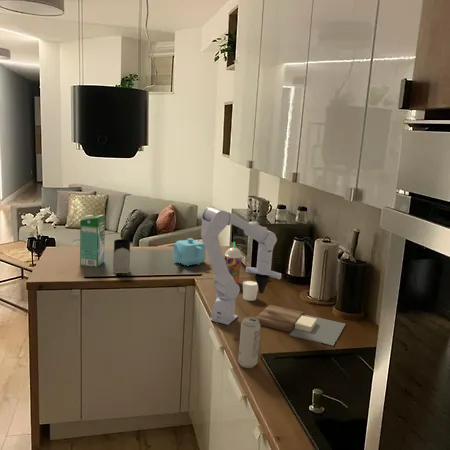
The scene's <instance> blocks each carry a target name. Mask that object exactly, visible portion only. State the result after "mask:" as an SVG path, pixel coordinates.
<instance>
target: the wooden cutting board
mask: <svg viewBox="0 0 450 450" xmlns="http://www.w3.org/2000/svg"><path fill="white" fill-rule="evenodd" d="M301 316H304V311H301V310H296V309H292V308H288V307H282V306H279V305H275V304H268V306H266V307H265V308H264V309H263V310H262V311H261V312H259V314H258V315H257V316H255V317H256V318H258V319H259V323H260V325H261V326H265V327H268V328H272V329H276V330H280V331H284V332H289V333H291V332H292V331H293V330H294V328H295V323H296V322H297V321H298V319H299V318H300V317H301Z"/></svg>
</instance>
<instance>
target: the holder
mask: <svg viewBox="0 0 450 450" xmlns="http://www.w3.org/2000/svg"><path fill="white" fill-rule="evenodd" d="M112 255H113V259H112V262H113V263H112V264H113V265H112V267H113V268H112V271H113V272H117V273H127V274H129V273H128V272H130V271H131V240H129V239H122V238H121V239H120V238H119V239H115V240H113V254H112ZM112 271H111V272H112ZM113 272H112V273H113Z"/></svg>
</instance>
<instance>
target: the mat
mask: <svg viewBox="0 0 450 450" xmlns="http://www.w3.org/2000/svg"><path fill="white" fill-rule="evenodd" d="M304 316H307V317H311V318H316V319H317V322H316V325H315V326H314V328H313V329H312V331H311V332H308V331H304V330H300V329H296V328H295V327H294V329H293V330H292V331H291V332H289V336H290V337H294V338H297V339H301V340H306V341H311V342H315V343H319V344H322V343H323V344H322V345H326V344H327V345H326V346H330V345H331V346H330V347H334V346H335V344H336V343H335V342H337V340H338V338H339V337H340V336H341V334H342V332H343V331H344V328H345V326H346V325H347V324H346V323H345V322H339V321H335V320H331V319H327V318H322V317H318V316H317V317H316V316H313V315H309V314H305V315H304Z"/></svg>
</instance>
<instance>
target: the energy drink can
mask: <svg viewBox="0 0 450 450" xmlns="http://www.w3.org/2000/svg"><path fill="white" fill-rule="evenodd" d="M256 317H257V316H245V317H243V319H242V322H241V323H240V334H239V346H238V347H239V348H238V355H237V356H238V357H237V358H238V360H237V362H238V363H239V366H240V367H242V368H245V369H253V368H254V367H256V365H257V364H258V360H259V359H258V357H259V348H260V337H261V326H262V325H260V323H259V319H258V318H256Z"/></svg>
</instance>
